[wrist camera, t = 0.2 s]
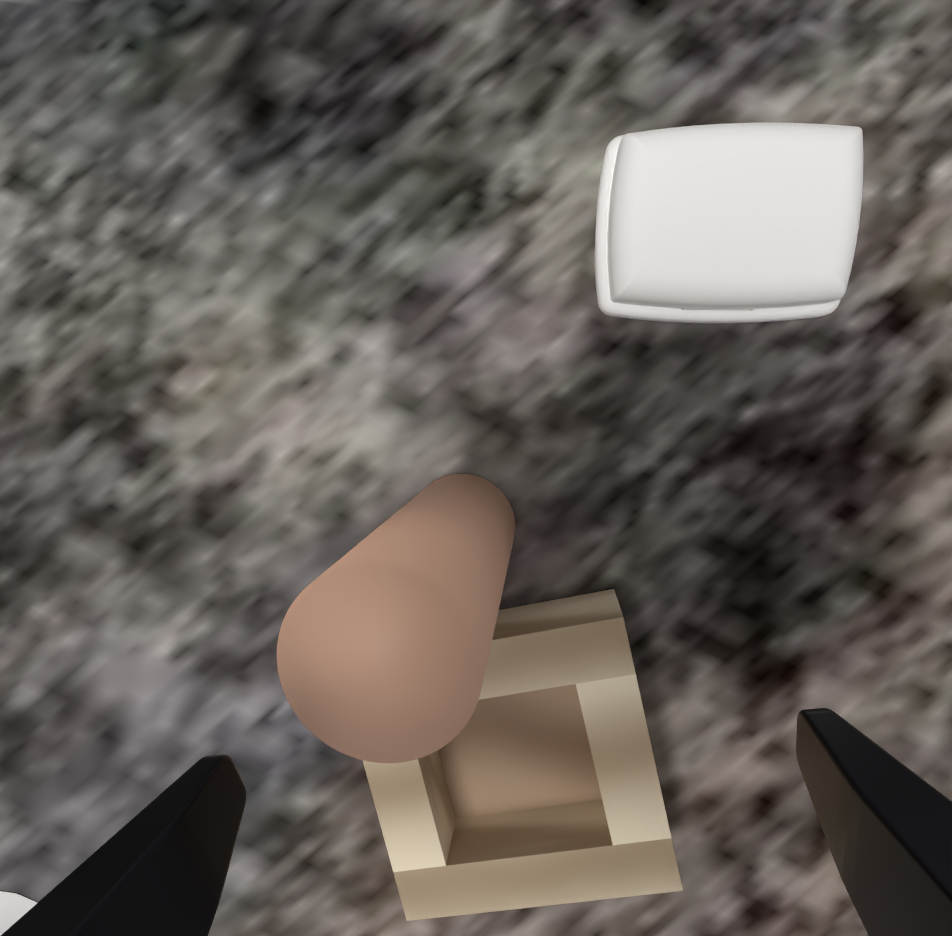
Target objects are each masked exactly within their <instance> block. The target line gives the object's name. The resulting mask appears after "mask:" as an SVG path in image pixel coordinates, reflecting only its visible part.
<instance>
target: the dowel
mask: <svg viewBox="0 0 952 936" xmlns="http://www.w3.org/2000/svg"><path fill="white" fill-rule="evenodd" d="M514 537H515V517H514V513H513V510H512V507H511V505H510V503H509V501H508V499H507V498H506V496H505V495H504V494H503V492H502V491H501V490H500V489H499V488H498V487H497V486H495V485H494V484H493V483H491V482H490V481H488V480H486V479H484V478H482V477H479V476H476V475H472V474H451V475H447V476H444V477H441V478H439V479H437V480H435V481H434V482H432V483H431V484H430V485H428V486H427V487H426V488H425V489H423V490H422V491H421V492H420V493H419V494H417V495H416V496H415V497H414V498H413V499H411V500H410V501H409V502H408V503H407V504H405V505H404V506H403V507H402V508H401V509H399V510H398V511H397V512H396V513H395V514H393V515H392V516H391V517H390V518H389V519H387V520H386V521H385V522H384V523H383V524H381V525H380V526H379V527H378V528H377V529H375V530H374V531H373V532H372V533H371V534H369V535H368V536H367V537H366V538H365V539H363V540H362V541H361V542H360V543H359V544H357V545H356V546H355V547H354V548H353V549H351V550H350V551H349V552H348V553H347V554H345V555H344V556H343V557H342V558H341V559H339V560H338V561H337V562H336V563H335V564H333V565H332V566H331V567H330V568H329V569H327V570H326V571H325V572H324V573H323V574H321V575H320V576H319V577H318V578H317V579H315V580H314V581H313V582H312V583H311V584H309V585H308V586H307V587H306V588H305V589H304V590H303V591H302V592H301V593H300V594H299V595H298V596H297V597H296V599H295V600H294V602H293V603H292V605H291V606H290V608H289V609H288V611H287V613H286V615H285V618H284V620H283V623H282V626H281V629H280V632H279V637H278V643H277V666H278V673H279V678H280V682H281V685H282V688H283V691H284V694H285V696H286V698H287V700H288V702H289V704H290V706H291V708H292V709H293V711H294V712H295V714H296V715H297V717H298V718H299V719H300V720H301V722H302V723H303V724H304V725H305V726H306V728H307V729H309V730H310V731H311V732H312V733H313V734H314V735H315V736H316V737H317V738H319V739H320V740H321V741H323V742H324V743H325V744H327V745H328V746H330V747H332V748H334V749H335V750H337V751H339V752H341V753H343V754H346V755H348V756H350V757H353V758H357V759H360V760H364V761H369V762H375V763H401V762H407V761H412V760H416V759H419V758H422V757H425V756H427V755H430V754H432V753H434V752H435V751H437V750H439V749H441V748H442V747H444V746H445V745H446V744H448V743H449V742H451V741H452V740H453V739H454V738H455V737H456V736H457V735H458V734H459V733H460V732H461V730H462V729H463V728H464V727H465V725H466V724H467V723H468V721H469V719H470V718H471V716H472V714H473V713H474V710H475V708H476V705H477V703H478V700H479V697H480V693H481V689H482V684H483V679H484V675H485V670H486V666H487V661H488V656H489V652H490V647H491V643H492V638H493V633H494V629H495V624H496V620H497V615H498V610H499V606H500V601H501V597H502V592H503V587H504V583H505V578H506V574H507V569H508V564H509V560H510V555H511V551H512V546H513V541H514Z"/></svg>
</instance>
